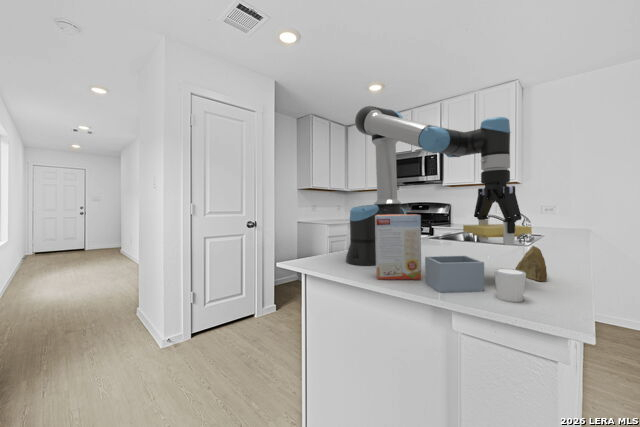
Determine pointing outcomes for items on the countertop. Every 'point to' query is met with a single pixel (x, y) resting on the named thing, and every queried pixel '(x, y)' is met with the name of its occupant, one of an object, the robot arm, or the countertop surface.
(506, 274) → the white cup
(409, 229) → the cracker box
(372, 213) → the robot arm
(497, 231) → the lid
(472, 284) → the tub
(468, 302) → the countertop surface
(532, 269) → the rock
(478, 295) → the countertop surface
